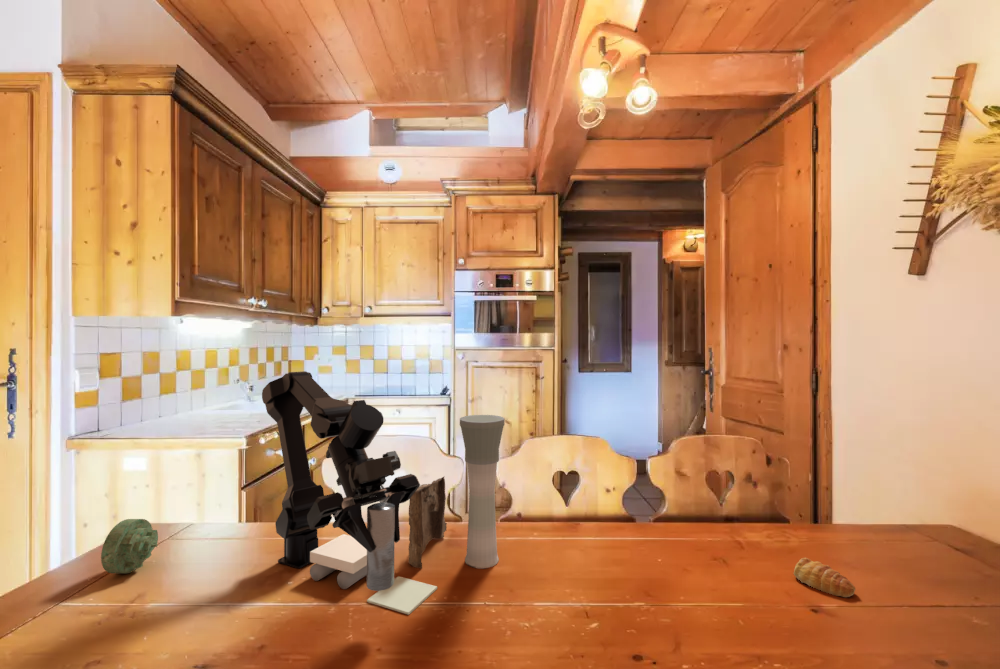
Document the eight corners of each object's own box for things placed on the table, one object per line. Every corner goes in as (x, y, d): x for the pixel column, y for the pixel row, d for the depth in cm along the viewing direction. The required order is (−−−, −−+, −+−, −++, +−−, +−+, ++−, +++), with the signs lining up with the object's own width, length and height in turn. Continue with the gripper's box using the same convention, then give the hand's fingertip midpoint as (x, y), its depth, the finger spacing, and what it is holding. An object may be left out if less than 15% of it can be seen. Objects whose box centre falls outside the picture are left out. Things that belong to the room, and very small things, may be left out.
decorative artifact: (140, 558, 98) (141, 511, 98) (173, 558, 98) (174, 511, 98) (100, 583, 88) (100, 531, 88) (137, 583, 88) (137, 531, 88)
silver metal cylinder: (360, 587, 75) (361, 509, 75) (378, 574, 79) (379, 500, 79) (382, 593, 73) (383, 514, 73) (399, 580, 77) (400, 505, 77)
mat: (367, 602, 82) (367, 599, 82) (398, 578, 90) (398, 576, 90) (408, 614, 78) (408, 612, 78) (437, 588, 86) (437, 586, 86)
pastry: (862, 594, 85) (862, 573, 85) (843, 604, 82) (843, 583, 82) (808, 571, 94) (808, 552, 94) (789, 580, 90) (789, 560, 90)
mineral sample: (421, 569, 94) (421, 494, 94) (402, 567, 95) (402, 493, 95) (448, 535, 110) (448, 471, 110) (432, 533, 111) (432, 470, 111)
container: (496, 547, 104) (496, 413, 104) (510, 567, 95) (510, 421, 95) (454, 553, 101) (455, 416, 101) (465, 574, 92) (465, 423, 92)
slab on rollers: (307, 578, 90) (308, 552, 90) (344, 556, 99) (344, 533, 99) (351, 591, 86) (351, 564, 86) (385, 567, 95) (386, 542, 95)
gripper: (315, 446, 72) (349, 540, 64) (414, 430, 85) (452, 505, 78) (294, 485, 77) (323, 575, 70) (390, 464, 91) (424, 537, 83)
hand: (385, 546), depth 75 cm, fingers closed on silver metal cylinder, 4 cm apart
